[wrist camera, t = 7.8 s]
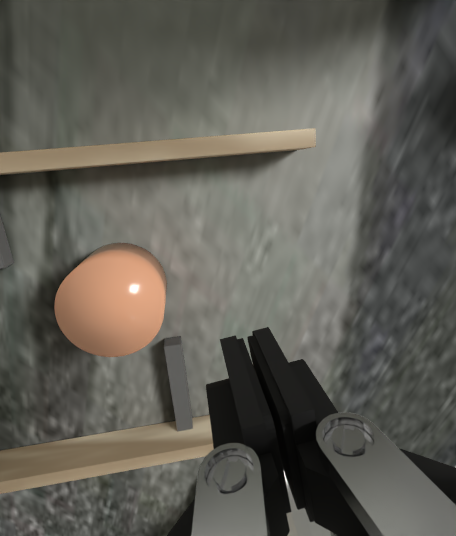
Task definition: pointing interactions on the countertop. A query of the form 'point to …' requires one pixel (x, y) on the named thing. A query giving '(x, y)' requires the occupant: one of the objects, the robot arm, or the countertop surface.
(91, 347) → the orange rounded block
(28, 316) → the countertop surface
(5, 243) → the grey rectangular block
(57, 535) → the countertop surface
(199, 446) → the lane
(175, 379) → the grey long bar
